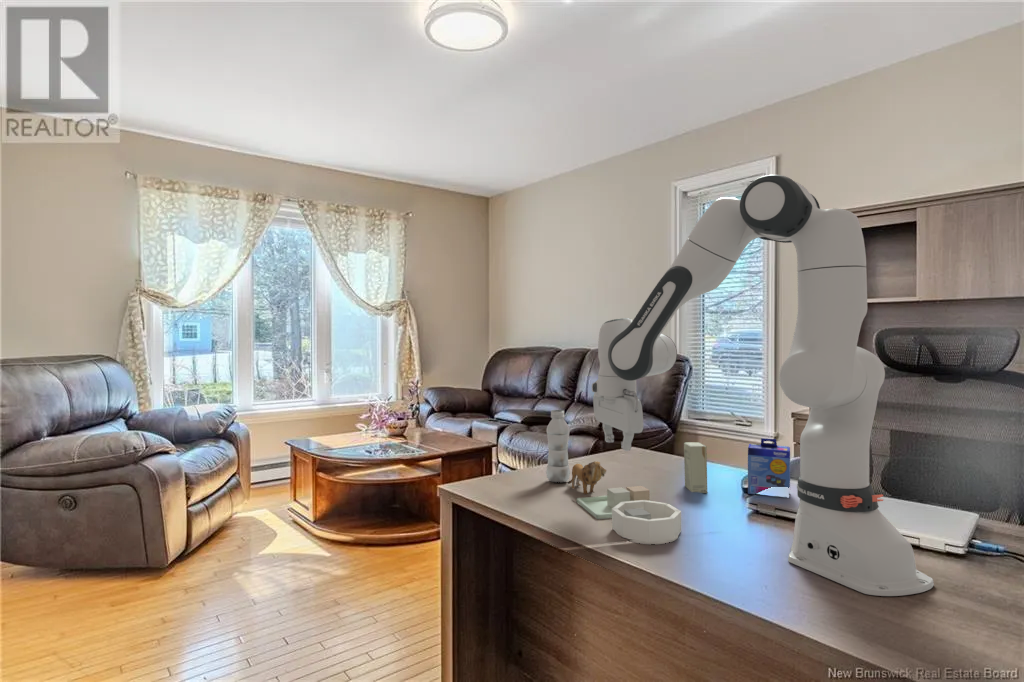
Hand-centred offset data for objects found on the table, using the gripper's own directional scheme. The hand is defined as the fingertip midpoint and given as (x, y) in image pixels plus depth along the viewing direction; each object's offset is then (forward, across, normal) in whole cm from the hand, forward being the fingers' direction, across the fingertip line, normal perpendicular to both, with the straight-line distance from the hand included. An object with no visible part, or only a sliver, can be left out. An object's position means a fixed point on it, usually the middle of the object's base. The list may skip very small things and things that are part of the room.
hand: (617, 445), depth 133 cm
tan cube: (+14, 0, -5) cm, 15 cm away
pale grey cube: (+14, 0, 0) cm, 15 cm away
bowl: (+15, -16, +1) cm, 22 cm away
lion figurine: (+15, +16, +2) cm, 22 cm away
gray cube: (+14, -16, +3) cm, 22 cm away
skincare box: (+15, +9, -26) cm, 32 cm away
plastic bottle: (+15, +27, +6) cm, 32 cm away
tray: (+15, 0, 0) cm, 15 cm away
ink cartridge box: (+15, +1, -42) cm, 45 cm away
